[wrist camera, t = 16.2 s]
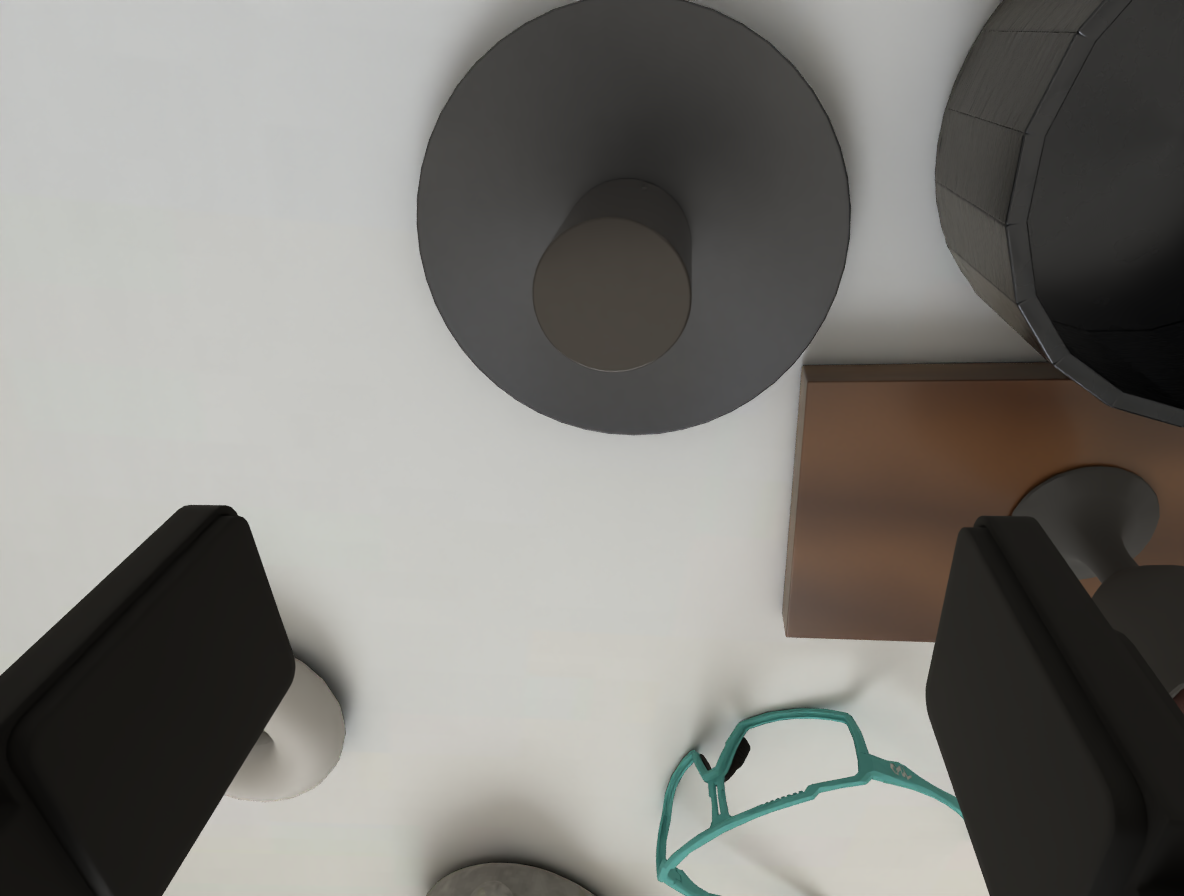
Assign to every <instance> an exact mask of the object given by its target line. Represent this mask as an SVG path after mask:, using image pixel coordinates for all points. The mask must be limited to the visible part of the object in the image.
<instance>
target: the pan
mask: <svg viewBox="0 0 1184 896" xmlns="http://www.w3.org/2000/svg"><path fill="white" fill-rule="evenodd" d="M935 183H936V202H937V207H938V212H939V217H940V223H941V227H942V230H943V233H944V236H945V240H946V244H947V247H948V248H949V250H950V252H951V254H952V255H953V257H954V259H955V261H956V263H957V265H958V266H959V268H960V270H961V272H962V273H963V274H964V276H965V277H966V278H967V279H968V281H969V283H970V284H971V286H972V288H973V289H974V291H975V293H976V294H977V295H978V296H979V297H980V298H981V299H982V300H983V301H984V302H985V303H986V304H988V305H989V306H990V307H991V308H992V309H993V310H994V311H995V312H996V313H997V314H998V315H999V316H1000V317H1001V318H1002V319H1003V320H1005V321H1006V322H1007V323H1008V324H1009V325H1010V326H1011V327H1012V328H1013V329H1014V330H1015V331H1016V332H1017V333H1018V334H1019V335H1021V336H1022V337H1023V338H1024V339H1025V340H1026V341H1027V342H1028V343H1029V344H1030V345H1031V346H1032V347H1033V348H1034V349H1035V350H1036V351H1038V352H1039V353H1040V354H1041V355H1042V356H1043V357H1044V358H1045V359H1046V360H1047V361H1048V362H1049V363H1050V364H1051V365H1052V366H1054V367H1055V368H1056V369H1058V370H1059V371H1060V372H1062V373H1063V374H1064V375H1066V376H1067V377H1069V378H1070V379H1071V380H1073V381H1074V382H1075V383H1077V384H1078V385H1079V386H1081V387H1082V388H1084V389H1085V390H1086V391H1088V392H1089V393H1090V394H1092V395H1093V396H1094V397H1096V398H1097V399H1099V400H1100V401H1101V402H1103V403H1104V404H1105V405H1107V406H1110V407H1111V408H1115V409H1118V410H1121V411H1125V412H1128V413H1132V414H1135V415H1139V416H1142V417H1146V418H1149V419H1153V420H1156V421H1160V422H1163V423H1166V424H1170V425H1173V426H1177V427H1183V428H1184V0H1003V1H1002V2H1001V3H1000V5H999V6H998V7H997V9H996V10H995V11H994V13H993V14H992V15H991V17H990V18H989V19H988V21H987V23H986V24H985V26H984V28H983V29H982V31H981V33H980V34H979V36H978V38H977V39H976V41H975V43H974V44H973V46H972V48H971V49H970V51H969V53H968V55H967V57H966V59H965V62H964V64H963V66H962V68H961V70H960V72H959V74H958V77H957V79H956V81H955V83H954V86H953V89H952V92H951V95H950V98H949V101H948V104H947V107H946V110H945V112H944V116H943V121H942V126H941V130H940V135H939V140H938V145H937V156H936V168H935Z"/></svg>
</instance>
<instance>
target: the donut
mask: <svg viewBox="0 0 1184 896" xmlns="http://www.w3.org/2000/svg"><path fill="white" fill-rule="evenodd" d="M295 666H296V669H295V676H294V679H293V682H292V684H291V686H290V688H289V690H288V691H287V693H286V695H285V696H284V698H283V699H282V701H281V703H280V704H279V706H278V708H277V709H276V711H275V712H274V714H273V716H272V717H271V719H270V721H269V722H268V724H267V725H266V727H265V729H264V731H265V732H262V734H261V735H260V737H259V739H258V740H257V742H256V743H255V745H254V747H253V748H252V750H251V752H250V753H249V755H248V756H247V758H246V760H245V761H244V763H243V765H242V766H241V768H240V769H239V771H238V773H237V774H236V776H235V778H234V779H233V781H232V783H231V784H230V786H229V787H228V789H227V791H226V792H225V794H224V795H225V796H229V797H232V798H235V799H239V800H247V801H257V802H271V801H278V800H286V799H290V798H294V797H297V796H299V795H301V794H303V793H305V792H307V791H309V790H312V789H314V788H315V787H316V786H318V785H319V784H320V783H322V781H323V780H324V779H325V778H326V777H327V776H328V774H329V773H330V772H331V771H332V770H333V769H334V767H335V766H336V764H337V763H338V761H339V759H340V756H341V752H342V748H343V743H344V738H345V734H346V731H345V723H344V719H343V715H342V711H341V708H340V704H339V703H338V701H337V700H336V698H335V697H334V695H333V694H332V692H331V691H330V689H329V688H328V686H327V685H326V683H325V682H324V680H323V679H322V678H321V677H319V676H318V675H317V674H316V673H315V672H314V671H313V670H311V669H310V668H309V667H308V666H307V665H306V664H305V663H303V662H301V661H300V660H298V659H296V658H295Z"/></svg>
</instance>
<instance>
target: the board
mask: <svg viewBox="0 0 1184 896" xmlns="http://www.w3.org/2000/svg"><path fill="white" fill-rule="evenodd" d="M1098 466H1103V467H1116V468H1120V469H1123V470H1126V471H1129V472H1131V473H1133V474H1135V475H1137V476H1140V477H1142V478H1143V479H1144V480H1145V481H1146V482H1147V483H1148V484H1149V485H1150V486H1151V488H1152V489H1153V491H1154V492H1155V493H1156V495H1157V499H1158V503H1159V513H1160V517H1159V520H1158V524H1157V527H1156V529H1155V531H1154V533H1153V535H1152V537H1151V539H1150V541H1149V542H1148V544H1147V545H1146V546H1145V547H1144V549H1143V550H1142V551H1141V552H1140V553H1139V554H1138V555H1137V556H1136V557H1135V558H1134V561H1135V562H1136V563H1137V564H1138V565H1139V566H1144V565H1180V566H1184V428H1183V427H1177V426H1173V425H1170V424H1166V423H1163V422H1160V421H1156V420H1153V419H1149V418H1146V417H1142V416H1139V415H1135V414H1132V413H1128V412H1125V411H1121V410H1118V409H1115V408H1111V407H1110V406H1107V405H1105V404H1104V403H1103V402H1101V401H1100V400H1099V399H1097V398H1096V397H1094V396H1093V395H1092V394H1090V393H1089V392H1088V391H1086V390H1085V389H1084V388H1082V387H1081V386H1079V385H1078V384H1077V383H1075V382H1074V381H1073V380H1071V379H1070V378H1069V377H1067V376H1066V375H1064V374H1063V373H1062V372H1060V371H1059V370H1058V369H1056V368H1055V367H1054V366H1052V365H1051V364H1050V363H1049V362H1032V363H950V364H867V365H803V366H802V370H801V383H800V396H799V408H798V421H797V433H796V446H795V458H794V471H793V483H792V496H791V509H790V521H789V534H788V546H787V559H786V571H785V584H784V597H783V609H782V615H783V622H784V628H785V635H786V637H796V638H825V639H854V640H884V641H913V642H935V641H936V636H937V631H938V626H939V622H940V617H941V612H942V607H943V603H944V598H945V593H946V588H947V583H948V579H949V574H950V569H951V564H952V560H953V555H954V550H955V545H956V541H957V537H958V533H959V531H960V530H961V528H963V527H973V526H974V523H975V521H976V520H977V518H978V517H980V516H1012V513H1013V511H1014V510H1015V508H1016V507H1017V506H1018V504H1019V503H1020V502H1021V500H1022V499H1023V498H1024V497H1025V496H1026V495H1027V494H1028V493H1029V492H1030V491H1031V490H1033V489H1034V488H1036V487H1037V486H1038V485H1040V484H1041V483H1043V482H1045V481H1046V480H1048V479H1050V478H1052V477H1054V476H1055V475H1058V474H1061V473H1064V472H1067V471H1070V470H1075V469H1079V468H1083V467H1098ZM1079 581H1080V582H1081V584H1082V585H1083V587H1084V588H1085V590H1086V591H1087V592H1088V594H1089V595H1090V597H1091V598H1092V596H1093V595H1094V593H1095V592H1096V591H1097V589H1098V588H1099V587H1100V585H1101V584H1102V583H1101V582H1100V581H1099V579H1098V578H1097V577H1093V578H1087V579H1081V580H1079Z"/></svg>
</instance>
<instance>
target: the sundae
mask: <svg viewBox="0 0 1184 896" xmlns="http://www.w3.org/2000/svg"><path fill="white" fill-rule="evenodd" d="M1012 516H1030V517H1033V518H1035V519H1036V520H1037V521H1038V522H1039V524H1040V525H1041V527H1042V528H1043V529H1044V531H1045V532H1046V534H1047V535H1048V537H1049V538H1050V539H1051V541H1052V542H1053V544H1054V545H1055V547H1056V548H1057V549H1058V551H1059V552H1060V554H1061V555H1062V557H1063V558H1064V559H1065V561H1066V562H1067V564H1068V565H1069V567H1070V568H1071V569H1072V571H1073V572H1074V574H1075V575H1076V577H1077V578H1078V579H1079V580H1081V579H1087V578H1093V577H1097V578H1098V579H1099V581H1100V582H1101V583H1102V584H1101V585H1100V587H1099V588H1098V589H1097V591H1096V592H1095V593H1094V595H1093V596H1092V600H1093V601H1094V602H1095V604H1096V605H1097V607H1098V608H1099V610H1100V611H1101V612H1102V614H1103V615H1104V617H1105V618H1106V620H1107V621H1108V622H1109V624H1110V625H1111V627H1112V628H1113V629H1115V630H1117V631H1119V632H1121V633H1123V634H1125V636H1126V637H1127V638H1128V639H1129V640H1130V641H1131V642H1132V643H1133V644H1134V645H1135V647H1136V648H1137V650H1138V651H1139V652H1140V654H1141V655H1142V657H1143V658H1144V659H1145V661H1146V662H1147V664H1148V665H1149V666H1150V668H1151V669H1152V671H1153V672H1154V673H1155V675H1156V676H1157V678H1158V679H1159V680H1160V682H1161V683H1162V685H1163V686H1164V687H1165V689H1166V690H1167V692H1168V693H1169V694H1170V696H1171V697H1172V699H1173V700H1174V701H1175V703H1176V704H1177V706H1178V707H1179V708H1180V710H1181V711H1182V713H1183V714H1184V566H1180V565H1144V566H1139V565H1138V564H1137V563H1136V562H1135V561H1134V558H1135V557H1136V556H1137V555H1138V554H1139V553H1140V552H1141V551H1142V550H1143V549H1144V547H1145V546H1146V545H1147V544H1148V542H1149V541H1150V539H1151V537H1152V535H1153V533H1154V531H1155V529H1156V527H1157V524H1158V520H1159V517H1160V513H1159V503H1158V499H1157V495H1156V493H1155V492H1154V491H1153V489H1152V488H1151V486H1150V485H1149V484H1148V483H1147V482H1146V481H1145V480H1144V479H1143V478H1142V477H1140V476H1137V475H1135V474H1133V473H1131V472H1129V471H1126V470H1123V469H1120V468H1116V467H1103V466H1098V467H1083V468H1079V469H1075V470H1070V471H1067V472H1064V473H1061V474H1058V475H1055V476H1054V477H1052V478H1050V479H1048V480H1046V481H1045V482H1043V483H1041V484H1040V485H1038V486H1037V487H1036V488H1034V489H1033V490H1031V491H1030V492H1029V493H1028V494H1027V495H1026V496H1025V497H1024V498H1023V499H1022V500H1021V502H1020V503H1019V504H1018V506H1017V507H1016V508H1015V510H1014V511H1013V513H1012Z"/></svg>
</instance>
